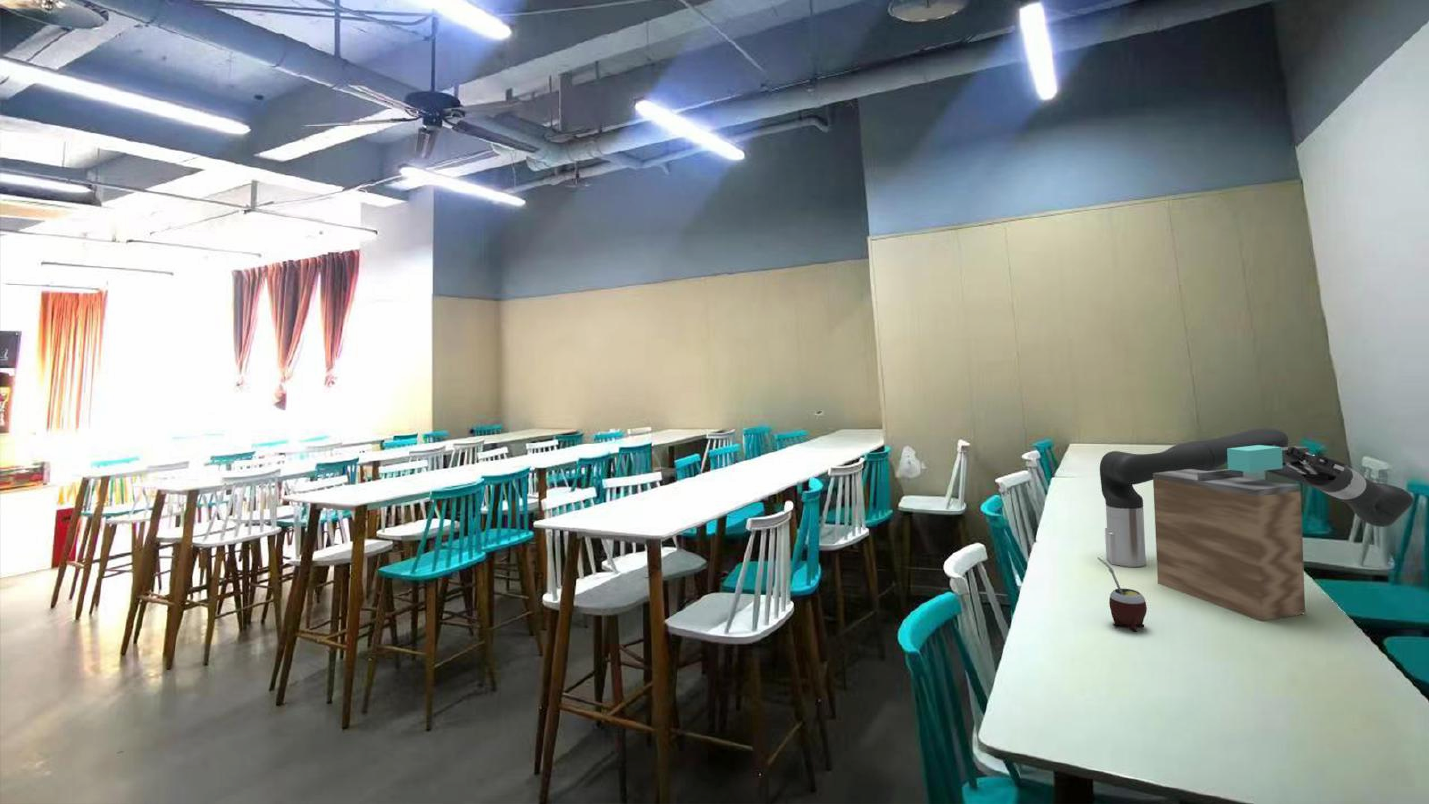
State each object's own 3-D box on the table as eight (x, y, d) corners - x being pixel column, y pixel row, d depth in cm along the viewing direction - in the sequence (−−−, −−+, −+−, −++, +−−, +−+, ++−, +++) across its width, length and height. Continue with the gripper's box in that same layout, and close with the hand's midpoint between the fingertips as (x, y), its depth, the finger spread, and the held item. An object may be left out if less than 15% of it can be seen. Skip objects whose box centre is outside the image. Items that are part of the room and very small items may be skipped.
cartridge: (1290, 461, 143) (1290, 441, 143) (1314, 464, 138) (1313, 443, 138) (1228, 469, 140) (1227, 448, 140) (1250, 472, 135) (1249, 450, 135)
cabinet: (1198, 577, 160) (1193, 461, 159) (1307, 613, 135) (1302, 475, 133) (1157, 583, 158) (1152, 465, 157) (1260, 621, 133) (1255, 481, 132)
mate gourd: (1154, 633, 131) (1151, 567, 130) (1114, 632, 132) (1111, 567, 132) (1136, 619, 138) (1134, 556, 138) (1099, 619, 140) (1096, 557, 139)
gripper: (1306, 460, 149) (1255, 432, 147) (1376, 468, 135) (1321, 437, 133) (1295, 487, 149) (1243, 459, 146) (1364, 498, 135) (1308, 467, 132)
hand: (1281, 449), depth 139 cm, fingers closed on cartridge, 3 cm apart
